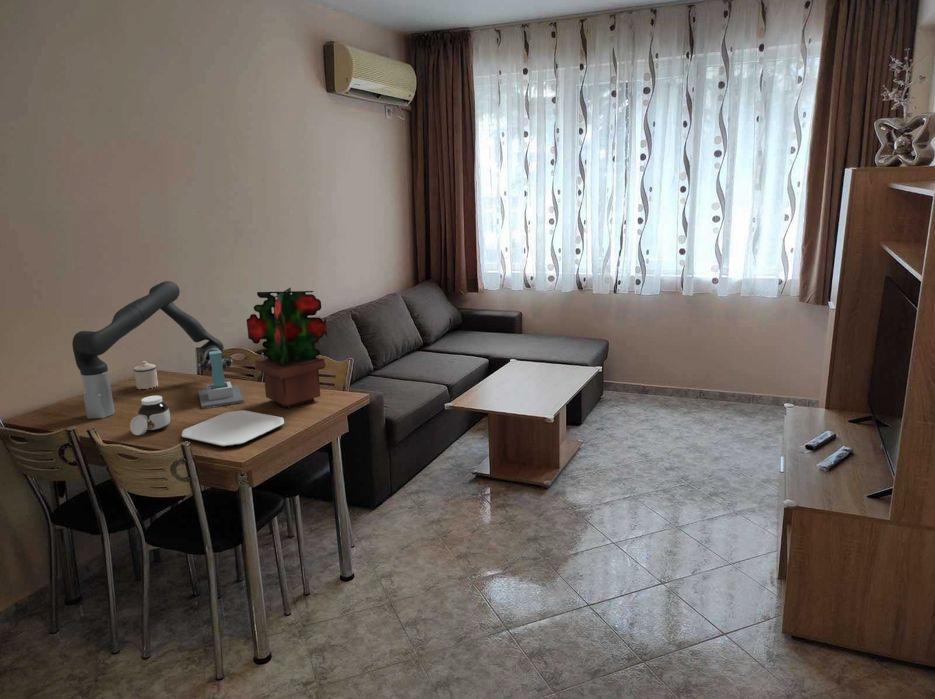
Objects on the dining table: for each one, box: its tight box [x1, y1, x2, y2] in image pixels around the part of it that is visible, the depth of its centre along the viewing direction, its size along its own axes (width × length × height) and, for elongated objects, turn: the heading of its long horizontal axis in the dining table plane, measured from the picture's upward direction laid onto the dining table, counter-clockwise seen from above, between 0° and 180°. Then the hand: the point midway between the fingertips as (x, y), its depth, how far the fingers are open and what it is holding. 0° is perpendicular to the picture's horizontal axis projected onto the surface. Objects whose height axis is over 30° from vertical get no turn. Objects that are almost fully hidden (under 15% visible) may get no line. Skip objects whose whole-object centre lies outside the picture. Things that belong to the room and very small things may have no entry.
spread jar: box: [129, 395, 171, 436], centre depth 241 cm, size 12×11×12 cm
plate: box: [180, 409, 285, 448], centre depth 240 cm, size 29×29×2 cm
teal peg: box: [209, 351, 226, 387], centre depth 274 cm, size 4×4×14 cm
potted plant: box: [246, 287, 328, 408], centre depth 265 cm, size 22×22×45 cm
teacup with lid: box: [133, 360, 159, 390], centre depth 294 cm, size 12×9×12 cm
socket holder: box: [197, 380, 245, 409], centre depth 277 cm, size 22×16×5 cm
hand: (217, 368), depth 272 cm, fingers closed on teal peg, 4 cm apart
